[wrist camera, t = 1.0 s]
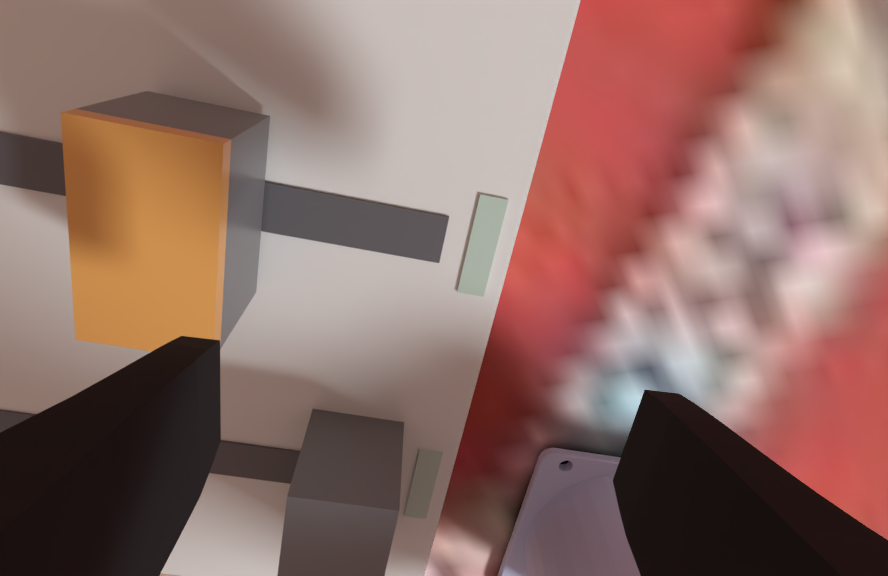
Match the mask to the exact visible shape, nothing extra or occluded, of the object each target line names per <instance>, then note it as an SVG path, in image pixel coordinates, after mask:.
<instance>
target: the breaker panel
mask: <svg viewBox="0 0 888 576" xmlns="http://www.w3.org/2000/svg"><path fill="white" fill-rule="evenodd" d="M580 1H581V0H0V432H2V431H4V430H6V429H8V428H10V427H12V426H14V425H16V424H18V423H20V422H22V421H24V420H26V419H28V418H30V417H32V416H34V415H36V414H38V413H40V412H42V411H44V410H46V409H48V408H50V407H52V406H54V405H56V404H58V403H60V402H62V401H64V400H66V399H68V398H70V397H72V396H73V395H75V394H77V393H79V392H81V391H82V390H84V389H86V388H88V387H90V386H91V385H93V384H95V383H97V382H99V381H100V380H102V379H104V378H106V377H108V376H109V375H111V374H113V373H115V372H117V371H118V370H120V369H122V368H124V367H126V366H127V365H129V364H131V363H133V362H134V361H136V360H138V359H140V358H141V357H143V356H145V355H147V354H148V353H150V352H152V351H145V350H139V349H132V348H126V347H119V346H113V345H106V344H100V343H93V342H87V341H80V340H76V339H75V324H74V309H73V294H72V279H71V264H70V249H69V234H68V219H67V203H66V188H65V173H64V158H63V143H62V128H61V113H60V112H64V111H68V110H72V109H76V108H80V107H84V106H88V105H92V104H96V103H100V102H104V101H108V100H112V99H116V98H120V97H124V96H128V95H132V94H137V93H141V92H145V91H149V92H154V93H159V94H164V95H169V96H174V97H179V98H184V99H189V100H194V101H199V102H204V103H209V104H214V105H219V106H224V107H229V108H234V109H239V110H244V111H249V112H253V113H258V114H263V115H268V116H270V124H269V136H268V149H267V162H266V174H265V187H264V200H263V212H262V225H261V238H260V251H259V263H258V276H257V289H256V293H255V295H254V297H253V298H252V300H251V301H250V303H249V305H248V306H247V308H246V309H245V311H244V313H243V314H242V316H241V317H240V319H239V320H238V322H237V324H236V325H235V327H234V328H233V330H232V332H231V333H230V335H229V336H228V338H227V340H226V341H225V343H224V344H223V346H222V348H221V349H220V405H221V442H220V444H219V447H218V450H217V453H216V456H215V458H214V461H213V464H212V467H211V470H210V472H209V475H208V477H207V480H206V483H205V485H204V488H203V491H202V493H201V496H200V498H199V500H198V502H197V504H196V506H195V508H194V510H193V512H192V514H191V516H190V518H189V519H188V521H187V523H186V525H185V527H184V529H183V531H182V533H181V535H180V537H179V539H178V541H177V543H176V545H175V547H174V548H173V550H172V552H171V554H170V556H169V558H168V560H167V562H166V564H165V566H164V568H163V569H162V571H161V573H163V574H172V575H181V576H424V574H425V570H426V566H427V563H428V559H429V555H430V552H431V548H432V544H433V541H434V537H435V533H436V530H437V526H438V522H439V519H440V515H441V511H442V508H443V504H444V500H445V497H446V493H447V489H448V486H449V482H450V478H451V475H452V471H453V467H454V464H455V460H456V456H457V453H458V449H459V445H460V442H461V438H462V434H463V431H464V427H465V423H466V420H467V416H468V412H469V408H470V405H471V401H472V397H473V394H474V390H475V386H476V383H477V379H478V375H479V372H480V368H481V364H482V361H483V357H484V353H485V350H486V346H487V342H488V339H489V335H490V331H491V328H492V324H493V320H494V317H495V313H496V309H497V306H498V302H499V298H500V295H501V291H502V287H503V284H504V280H505V276H506V273H507V269H508V265H509V262H510V258H511V254H512V251H513V247H514V243H515V239H516V236H517V232H518V228H519V225H520V221H521V217H522V214H523V210H524V206H525V203H526V199H527V195H528V192H529V188H530V184H531V181H532V177H533V173H534V170H535V166H536V162H537V159H538V155H539V151H540V148H541V144H542V140H543V137H544V133H545V129H546V126H547V122H548V118H549V115H550V111H551V107H552V104H553V100H554V96H555V93H556V89H557V85H558V82H559V78H560V74H561V70H562V67H563V63H564V59H565V56H566V52H567V48H568V45H569V41H570V37H571V34H572V30H573V26H574V23H575V19H576V15H577V12H578V8H579V4H580Z"/></svg>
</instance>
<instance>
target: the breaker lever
mask: <svg viewBox="0 0 888 576" xmlns="http://www.w3.org/2000/svg"><path fill="white" fill-rule="evenodd" d="M60 113H61V128H62V143H63V158H64V173H65V188H66V203H67V219H68V234H69V249H70V264H71V279H72V294H73V309H74V324H75V339H76V340H80V341H87V342H93V343H100V344H106V345H113V346H119V347H126V348H132V349H139V350H145V351H154V350H155V349H157V348H159V347H161V346H163V345H165V344H166V343H168V342H170V341H172V340H174V339H176V338H178V337H180V336H187V337H195V338H204V339H213V340H220V349H221V348H222V346H223V344H224V343H225V341H226V340H227V338H228V336H229V335H230V333H231V332H232V330H233V328H234V327H235V325H236V324H237V322H238V320H239V319H240V317H241V316H242V314H243V313H244V311H245V309H246V308H247V306H248V305H249V303H250V301H251V300H252V298H253V297H254V295H255V293H256V289H257V276H258V263H259V251H260V238H261V225H262V212H263V200H264V187H265V174H266V162H267V149H268V136H269V124H270V116H268V115H263V114H258V113H253V112H249V111H244V110H239V109H234V108H229V107H224V106H219V105H214V104H209V103H204V102H199V101H194V100H189V99H184V98H179V97H174V96H169V95H164V94H159V93H154V92H149V91H145V92H141V93H137V94H132V95H128V96H124V97H120V98H116V99H112V100H108V101H104V102H100V103H96V104H92V105H88V106H84V107H80V108H76V109H72V110H68V111H64V112H60Z"/></svg>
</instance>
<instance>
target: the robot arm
mask: <svg viewBox="0 0 888 576" xmlns="http://www.w3.org/2000/svg"><path fill="white" fill-rule="evenodd" d="M220 442H221V405H220V340H213V339H204V338H195V337H187V336H180V337H178V338H176V339H174V340H172V341H170V342H168V343H166V344H165V345H163V346H161V347H159V348H157V349H155V350H154V351H152V352H150V353H148V354H147V355H145V356H143V357H141V358H140V359H138V360H136V361H134V362H133V363H131V364H129V365H127V366H126V367H124V368H122V369H120V370H118V371H117V372H115V373H113V374H111V375H109V376H108V377H106V378H104V379H102V380H100V381H99V382H97V383H95V384H93V385H91V386H90V387H88V388H86V389H84V390H82V391H81V392H79V393H77V394H75V395H73V396H72V397H70V398H68V399H66V400H64V401H62V402H60V403H58V404H56V405H54V406H52V407H50V408H48V409H46V410H44V411H42V412H40V413H38V414H36V415H34V416H32V417H30V418H28V419H26V420H24V421H22V422H20V423H18V424H16V425H14V426H12V427H10V428H8V429H6V430H4V431H2V432H0V576H159V575H160V573H161V571H162V569H163V568H164V566H165V564H166V562H167V560H168V558H169V556H170V554H171V552H172V550H173V548H174V547H175V545H176V543H177V541H178V539H179V537H180V535H181V533H182V531H183V529H184V527H185V525H186V523H187V521H188V519H189V518H190V516H191V514H192V512H193V510H194V508H195V506H196V504H197V502H198V500H199V498H200V496H201V493H202V491H203V488H204V485H205V483H206V480H207V477H208V475H209V472H210V470H211V467H212V464H213V461H214V458H215V456H216V453H217V450H218V447H219V444H220ZM563 461H569V462H568V463H566V464H560V463H561V462H563ZM497 576H888V540H886V539H885V538H883V537H882V536H880V535H879V534H877V533H876V532H874V531H872V530H871V529H869V528H868V527H866V526H865V525H863V524H862V523H860V522H859V521H857V520H856V519H854V518H853V517H852V516H850V515H849V514H847V513H846V512H844V511H843V510H841V509H840V508H838V507H837V506H835V505H834V504H832V503H831V502H829V501H828V500H827V499H825V498H824V497H822V496H821V495H819V494H818V493H816V492H815V491H814V490H812V489H811V488H809V487H808V486H807V485H805V484H804V483H802V482H801V481H800V480H798V479H797V478H795V477H794V476H793V475H791V474H790V473H789V472H787V471H786V470H784V469H783V468H782V467H780V466H779V465H778V464H776V463H775V462H774V461H772V460H771V459H770V458H768V457H767V456H766V455H764V454H763V453H761V452H760V451H759V450H757V449H756V448H755V447H753V446H752V445H751V444H749V443H748V442H747V441H745V440H744V439H743V438H741V437H740V436H739V435H737V434H736V433H735V432H733V431H732V430H731V429H729V428H728V427H727V426H725V425H724V424H723V423H721V422H720V421H719V420H717V419H716V418H714V417H713V416H712V415H710V414H709V413H707V412H706V411H705V410H703V409H702V408H700V407H699V406H697V405H696V404H694V403H693V402H691V401H690V400H688V399H687V398H685V397H683V396H682V395H680V394H676V393H668V392H659V391H651V390H645V391H644V394H643V397H642V400H641V403H640V405H639V408H638V411H637V414H636V417H635V419H634V422H633V425H632V428H631V431H630V433H629V436H628V439H627V442H626V445H625V447H624V450H623V453H622V456H621V457H614V456H607V455H601V454H594V453H587V452H580V451H573V450H567V449H560V448H548V449H545V450H544V451H542V452H541V453H540V455H539V457H538V460H537V463H536V466H535V469H534V472H533V474H532V477H531V480H530V483H529V486H528V489H527V492H526V495H525V498H524V500H523V503H522V506H521V509H520V512H519V515H518V518H517V521H516V523H515V526H514V529H513V532H512V535H511V538H510V541H509V544H508V547H507V549H506V552H505V555H504V558H503V561H502V564H501V567H500V570H499V572H498V575H497Z"/></svg>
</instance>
